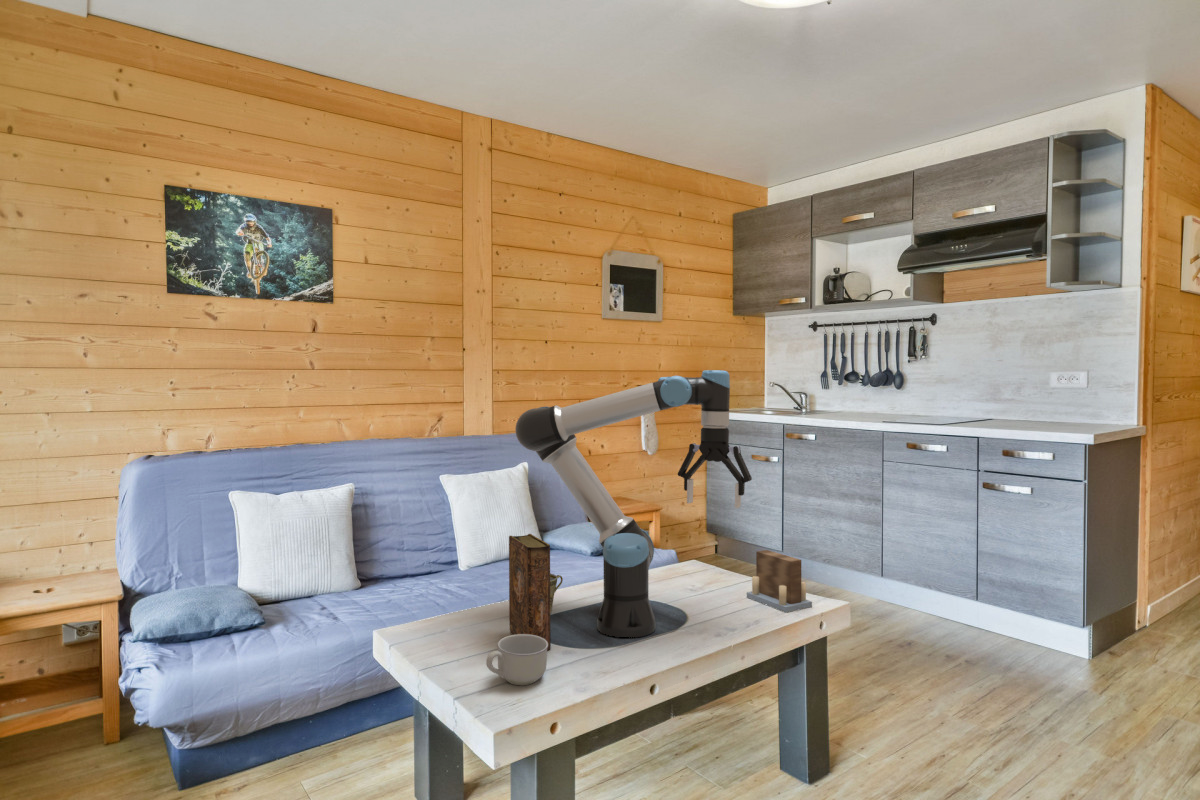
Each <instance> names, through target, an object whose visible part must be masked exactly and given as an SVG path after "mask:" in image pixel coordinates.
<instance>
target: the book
mask: <svg viewBox="0 0 1200 800" xmlns="http://www.w3.org/2000/svg"><path fill="white" fill-rule="evenodd" d="M550 573H551V544H549V543H547V542H546V541H544V540H542V539H540V538H538V537H537V536H535V535H534V534H532V533H528V534H525V535H516V536H515V535H509V536H508V584H509V585H508V586H509V587H508V590H509V591H508V594H509V595H508V597H509V599H508V601H509V603H508V605H509V606H508V607H509V610H508V611H509V612H508V613H509V615H508V616H509V621H508V623H509V633H510V634H511V635H518V634H529V635H536V636H539V637H541V638H544V639H545V640H546V641H547V643H548V648H547V653H548V652H550V651H551V650H552V649H551V641H552V640H551V639H552V637H551V633H552V632H551V614H550Z"/></svg>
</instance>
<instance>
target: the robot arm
mask: <svg viewBox="0 0 1200 800" xmlns="http://www.w3.org/2000/svg"><path fill="white" fill-rule="evenodd" d="M730 384H731V381H730V373H729V372H728V371H727V370H721V369H720V370H719V369H718V370H717V369H716V370H715V369H714V370H713V369H711V370H710V369H707V370H705V369H704V370H703V371H702V373H701V376H699V377H686V376H685V377H684V376H680V375H673V376H661V377H659V378H658V380H657V381H654V382H649V383H646V384H642V385H639V386H636V387H632V388H628V389H624V390H621V391H618V392H613V393H610V394H606V395H603V396H600V397H596V398H592V399H588V400H584V401H582V402H577V403H575V404H571V405H567V406H564V407H561V406H559V405H554V406H553V405H552V406H541V407H537V408H536V407H535V408H530V409H528V410H526V411H524V412H523V413H522V414H521V415H520V416H519V418H518V419H517V421H516V424H515V436H516V439H517V441H518V442H519V444H520V445H521V446H522V447H523V448H525V449H527V450H529V451H532V452H536V454H537V455H538V457H539V458H540V460H541V461H542V462H543V463H546V464H550V465H551V466H552V467H553V469H554V470H555V471H556V473H557V475H559V477H560V478H561V480H562V481H563V483H564V485H565V486H566V488H567V489H568V491H570V493H571V495H572V496H573V497H574V499H575V501H576V502H577V503H578V505H579V506H580V508H581V509H582V510H583V512H584V513H585V515H586V516H587V518H588V519H589V521H590V522H591V523H592V525H593V526H594V527H595V530H597V532H598V533H599V539H598V542H599V544H600V546H601V547H602V556H603V599H602V603H601V605H600V609H599V612H598V615H597V618H596V626H597V627H596V628H597V631H598V630H599V631H600V633H601V634H602V635H605V634H606V635H605V636H608V635H609V636H608V637H612V636H615V637H614V638H619V637H629V638H628V639H633V638H634V637H635V638H642V637H645V636H648V635H650V634H652V633H654V632H655V631H656V617H655V614H654V611H653V608H652V605H651V601H650V598H649V570H650V565H651V563H652V561H653V559H654V554H655V548H654V547H655V545H654V543H653V542H654V541H653V540H652V537H651V536H650V535H649V534H648V532H647V531H645V530H644V529H642V528H641V527H640V526H639V524H638V523H637V521H636V520H635V519H634V518H633V517H631V516H626V515H625V514H624V512H623V511H622V510H621V508H620V507H619V505H618V504H617V503H616V501H615V500H614V499H613V497H612V495H611V494H610V492H609V491H608V490H607V489H606V487H605V485H604V484H603V483H602V481H601V480H600V478H599V477H598V475H597V474H596V473H595V471H594V469H593V468H592V466H591V465H590V464H589V463H588V461H587V460H586V458H585V457H584V456H583V454H582V453H581V451H580V450H579V448H578V447H577V439H578V438H577V436H576V434H580V433H584V432H587V431H591V430H595V429H598V428H602V427H604V426H605V427H606V426H609V425H612V424H617V423H620V422H623V421H627V420H631V419H634V418H638V417H642V416H646V415H649V414H652V413H656V412H661V411H665V410H668V409H673V408H675V407H676V408H677V407H681V406H684V405H685V406H686V405H690V406H691V405H693V406H694V405H695V406H698V405H700V406H701V408H700V409H701V410H700V411H701V414H700V415H701V416H700V418H701V419H700V425H701V426H702V427H701V428H700V444H696V443H690V444H689V447H688V452H687V454H686V455H685V459H684V460H683V462H682V464H681V466H680V468H679V469H678V472H677V475H678V477H681V478H683V481H684V482H683V490H684V491H686V503H687V504H691V503H693V502H694V478H692V476H693V475H695V473H696V472H697V471H698V469H700V467H702V465H703V464H704V462H706V461H707V462H716V463H720V462H722V464H724V466H725V467H726V468H727V469H728V471H729V472H730V474H731V475H732V476H733V477H734V478H735V480H736V481H737V482H736V483H735V485H734V489H735V490H734V509H739V508H741V504H742V503H741V502H742V496H745V488H746V487H745V486H746V485H745V484H746V483H748V482H750V481H752V479H753V478H752V476H751V473H750V470H749V468H748V467H747V465H746V462H745V460H744V458H743V456H742V453H741V446H740V445H736V446H730V445H729V444H730V443H729V441H730V435H729V433H730V429H729V426H730V398H731V397H730V396H731V393H730V390H731V385H730ZM698 451H700V453H701V455H700V456H699V457H698V459H697V460H696V461H695V462H694V463H693V465H691V463H692V461H693V459H694V457H695V455H696V452H698ZM730 452H731V454H732V455H733V457H734V458H735V462H736V463H737V466H738V468H739V470H740V471H739V470H738V469H737V467H736V466H735V464H734V463H733V462H732V460H731V458H730V457H729V456H728V454H730ZM690 465H691V467H690V468H689V466H690ZM688 468H689V469H688ZM687 470H688V471H687ZM654 630H655V631H654ZM599 631H598V632H599ZM630 637H631V638H630ZM632 637H633V638H632ZM635 638H634V639H635Z"/></svg>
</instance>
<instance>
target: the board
mask: <svg viewBox="0 0 1200 800" xmlns="http://www.w3.org/2000/svg"><path fill="white" fill-rule="evenodd" d="M755 554H756V555H755V556H756V563H755V564H756V566H755V567H756V571H755V572H756V573H755V574H756V575H755V576H758V577H759V593H761V594H764V595H767V596H769V597H772V598H775V599H777V600H779V586H780V585H784V586H786V603H788V604H796V603H800V602H801V582H802V559H799V558H796V557H793V556H790V555H785V554H782V553H779V552H775V551H772V550H769V549H764V550H758V551H756V553H755Z"/></svg>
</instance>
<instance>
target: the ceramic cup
mask: <svg viewBox="0 0 1200 800" xmlns="http://www.w3.org/2000/svg"><path fill="white" fill-rule="evenodd" d="M559 578H560V582H559V583H558V584H557V582H558V579H559ZM563 581H564V579H563V577H562V575H559V574H555V573H551V572H550V615H551V613H552V611H553V604H554V598H555V597H554V596H555V593H556V592H557V590H558V589H559V588H560V586H562V583H563Z"/></svg>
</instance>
